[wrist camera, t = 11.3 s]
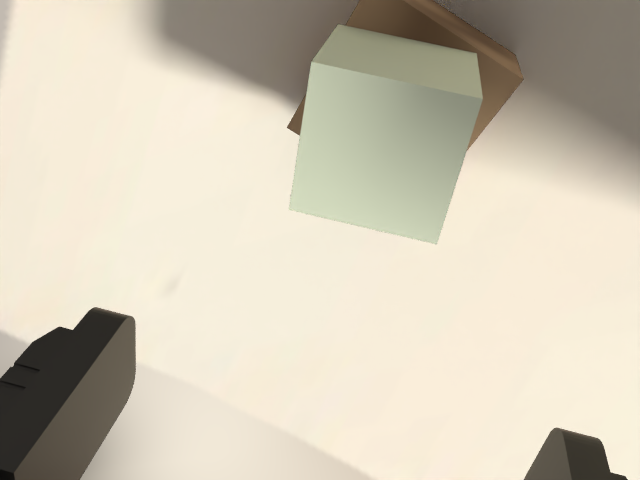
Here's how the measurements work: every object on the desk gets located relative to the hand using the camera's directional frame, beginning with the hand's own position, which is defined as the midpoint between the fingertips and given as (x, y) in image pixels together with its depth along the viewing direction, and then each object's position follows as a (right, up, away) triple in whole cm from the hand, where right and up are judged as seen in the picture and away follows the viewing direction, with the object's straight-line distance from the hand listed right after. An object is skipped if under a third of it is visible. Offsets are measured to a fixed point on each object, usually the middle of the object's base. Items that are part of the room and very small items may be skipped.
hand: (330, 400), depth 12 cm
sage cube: (+3, +9, +14) cm, 16 cm away
